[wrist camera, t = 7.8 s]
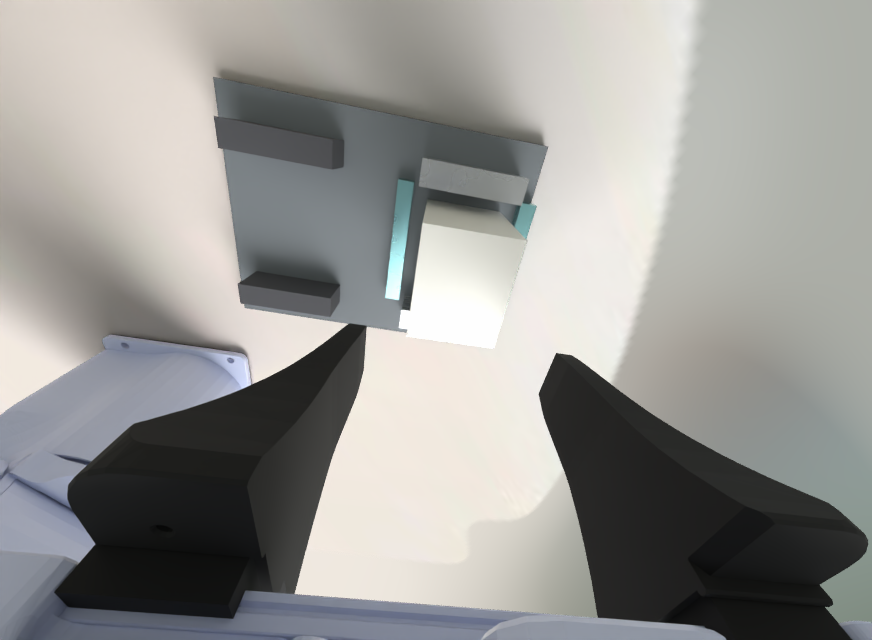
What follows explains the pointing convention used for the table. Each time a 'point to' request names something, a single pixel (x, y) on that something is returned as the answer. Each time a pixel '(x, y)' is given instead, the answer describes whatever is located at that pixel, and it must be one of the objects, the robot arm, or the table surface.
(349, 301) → the panel
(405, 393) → the table surface
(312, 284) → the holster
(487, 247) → the plug
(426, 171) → the port
